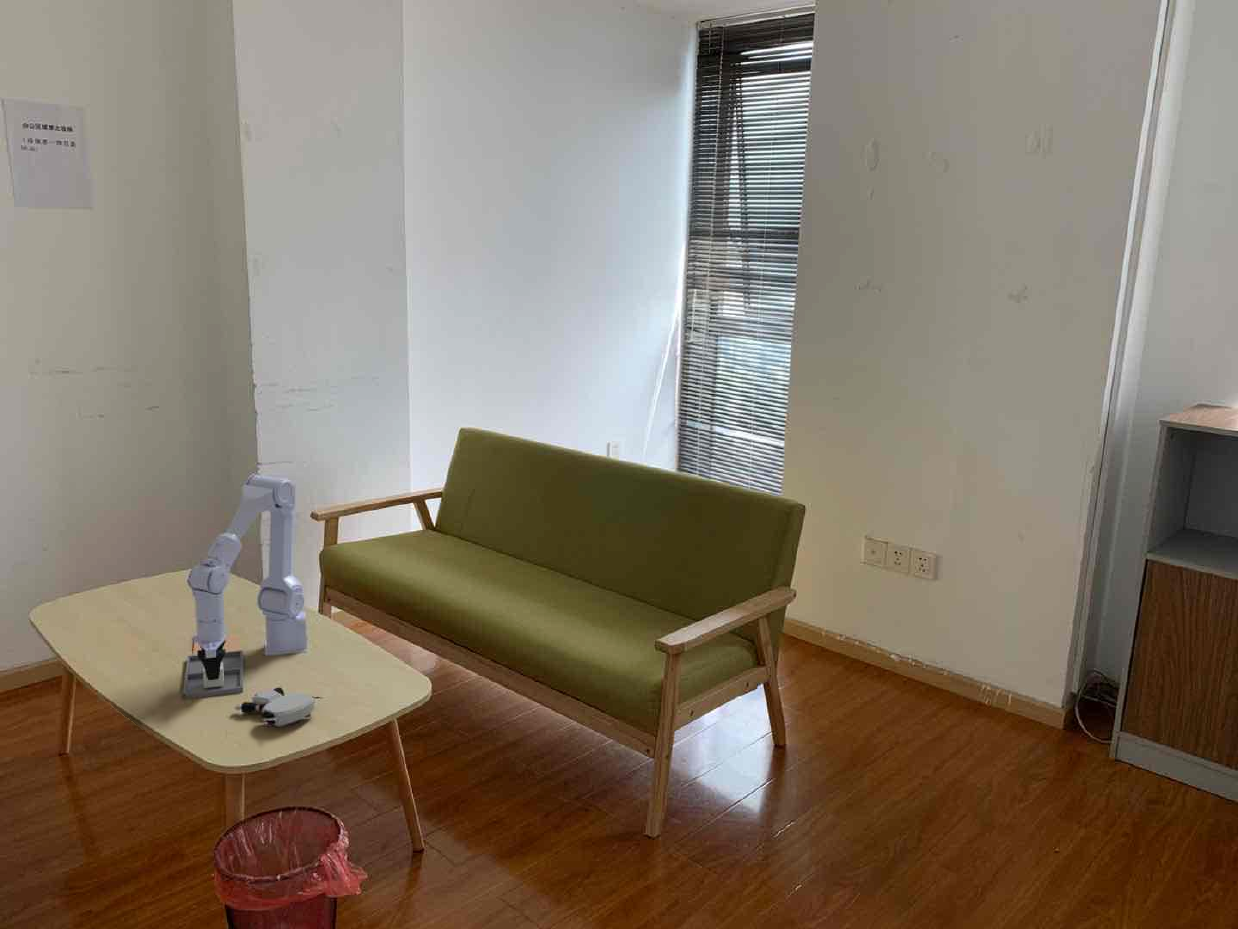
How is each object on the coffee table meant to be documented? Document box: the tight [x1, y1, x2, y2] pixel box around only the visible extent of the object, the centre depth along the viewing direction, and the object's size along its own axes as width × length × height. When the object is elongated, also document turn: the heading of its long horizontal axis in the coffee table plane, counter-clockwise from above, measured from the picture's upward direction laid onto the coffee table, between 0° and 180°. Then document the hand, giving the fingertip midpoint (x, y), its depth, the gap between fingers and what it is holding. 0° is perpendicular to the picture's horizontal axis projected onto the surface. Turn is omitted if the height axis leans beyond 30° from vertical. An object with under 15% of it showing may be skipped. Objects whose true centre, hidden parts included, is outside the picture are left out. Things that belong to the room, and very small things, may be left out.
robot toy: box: [234, 687, 324, 727], centre depth 200 cm, size 12×4×15 cm
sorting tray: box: [182, 650, 244, 700], centre depth 215 cm, size 12×20×2 cm, turn 21°
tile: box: [192, 633, 240, 655], centre depth 230 cm, size 10×10×1 cm
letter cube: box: [203, 662, 224, 688], centre depth 210 cm, size 4×4×4 cm
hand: (213, 674), depth 210 cm, fingers closed on letter cube, 4 cm apart
